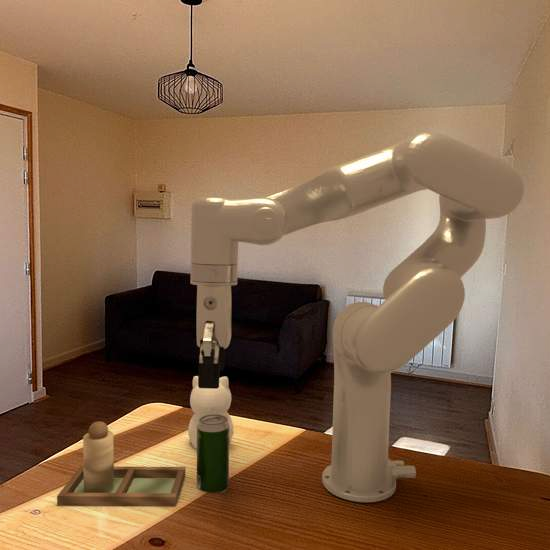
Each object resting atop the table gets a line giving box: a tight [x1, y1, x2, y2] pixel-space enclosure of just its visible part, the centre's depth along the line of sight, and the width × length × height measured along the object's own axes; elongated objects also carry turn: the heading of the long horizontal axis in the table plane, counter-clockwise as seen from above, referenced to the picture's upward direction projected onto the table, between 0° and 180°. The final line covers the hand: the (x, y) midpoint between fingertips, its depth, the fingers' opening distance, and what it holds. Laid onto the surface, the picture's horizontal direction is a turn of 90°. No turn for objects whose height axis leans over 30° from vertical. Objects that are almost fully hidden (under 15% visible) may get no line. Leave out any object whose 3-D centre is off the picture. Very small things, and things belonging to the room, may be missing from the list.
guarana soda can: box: [196, 414, 230, 495], centre depth 82 cm, size 5×5×12 cm
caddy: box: [56, 465, 186, 508], centre depth 80 cm, size 18×10×2 cm, turn 91°
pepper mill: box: [82, 421, 115, 493], centre depth 79 cm, size 5×5×11 cm
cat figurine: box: [187, 375, 234, 450], centre depth 99 cm, size 9×12×15 cm
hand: (211, 378), depth 81 cm, fingers open, 9 cm apart
